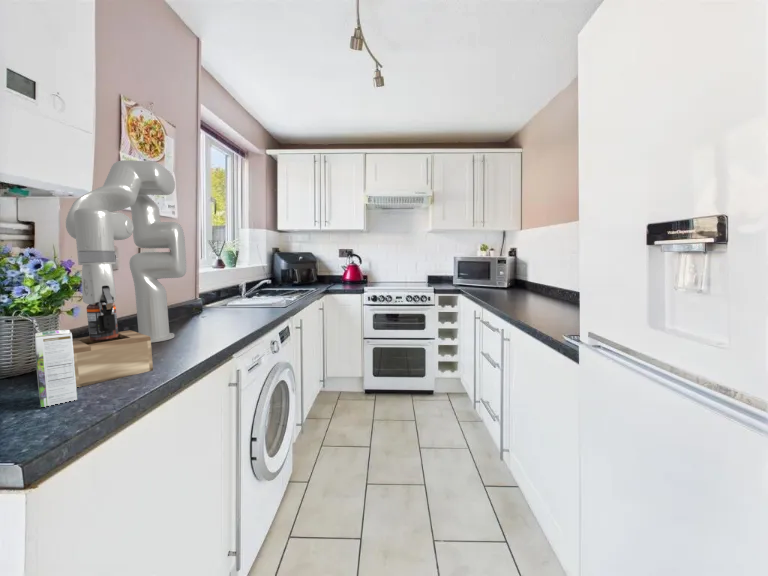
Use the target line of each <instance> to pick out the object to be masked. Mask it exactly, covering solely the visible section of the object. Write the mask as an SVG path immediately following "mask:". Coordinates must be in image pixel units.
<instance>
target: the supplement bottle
mask: <svg viewBox="0 0 768 576" xmlns="http://www.w3.org/2000/svg"><path fill="white" fill-rule="evenodd" d="M100 303H105V301H100ZM102 309H103V306H102ZM113 310H114V318H115V330H113V331H106V332H100V331H99V321H98V316H100V314H99V309H98V304H97V302H96V304H95V305H90V304H87V305H86V315H87V318H86V319H87V324H88V325H87V327H88V332H89V333H88V334H89V335H88V337H89V336H90V340H91V341H103V340H110V339H114V338H117V337H118V332H119V327H118V326H119V325H118V319H117V317H118V315H117V307H116V304H115V302H114V303H113Z"/></svg>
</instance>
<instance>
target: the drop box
mask: <svg viewBox="0 0 768 576" xmlns="http://www.w3.org/2000/svg"><path fill="white" fill-rule="evenodd" d="M72 341H73V352H74V365H75V377H76V389H78V388H77V387H79V388H82V386H83V387H87V386H91V385H96V384H101V383H104V382H107V381H112V380H117V379H121V378H126V377H131V376H134V375H139V374H144V373H147V372H151V371H154V363H153V355H152V354H153V352H152V343H151V337H150V336H147V335H144V334H141V333H139V332H137V331H135V330H130V329H129V330H123V331H118V337H117V338H114V339H110V340H103V341H91V340H90V336H89V335H88V336H84V337H77V338H76V337H75V338H72Z"/></svg>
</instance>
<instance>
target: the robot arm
mask: <svg viewBox="0 0 768 576" xmlns="http://www.w3.org/2000/svg"><path fill="white" fill-rule="evenodd" d="M175 188H176V182H175V178H174V176H173V174H172V173H171V172H170V171H169V170H168V168H166V167H165V166H163V165H162V164H160V163H159V162H156V161H150V160H148V161H147V160H132V159H131V160H129V159H128V160H127V159H125V160H119V161H115V162H114V163H113V164H112V165H111V167H110V169H109V172H108V174H107V175H106V178H105V180H104V182H103V185H102V186H100V187H98V188H94V189H93V190H91V191H89V192H87V193H85V194H82V195H81V196H79V197H78V198H76V200H75V201H74V202H73V203H72V205H71V207H70V209H69V211H68V212H67V215H66V219H65V228H66V231H67V234H68V235H69V236H70V237H71V238H73V239H75V241H76V253H77V263H78V266H81V286H82V287H81V288H82V289H81V291H82V302H83V303H84V304H87V305H89V304H90V305H95V304H96V302H97V304H98V309H99V314H100V316H98V321H99V331H100V332H106V331H113V330H115V318H114V310H113V303H114V304H115V302H116V300H117V298H116V297H117V295H116V294H117V293H116V284H115V275H114V269H113V265H116V264H117V259H116V249H115V241H123V240H124V241H125V240H126V239H129V238H130V237H131V236H133V242H134V244H135V246H136V247H138V248H140V249H169V250H170V251H161V252H160V251H152V252H151V251H148V252H147V251H144V252H139V253H138V252H137V253H135V254H134V255H132V256H131V257H130V259H129V264H128V265H129V269H130V270H129V271H130V273H131V276H132V279H133V285H134V286H133V287H134V294H135V305H136V306H135V307H136V308H135V309H136V316H137V317H136V319H137V329H138V332H137V333H141V334H144V335H147V336H150V337H151V344H152V343H158V342H163V341H164V342H165V341H168V340H171V339H173V338H175V333H174V332H170V326H169V325H170V324H169V322H170V321H169V310H168V296H167V290H166V288H165V287H164V285H163V284H162V283H161V282H160V281H159V280H160V279H180V278H182V277H184V276H185V275H186V272H187V256H186V254H187V253H186V241H185V240H186V239H185V232H184V229H183V226H182V225H181V224H179V223H178V222H175V221H161V214H160V213H161V212H160V207H159V206H158V204H157V203H156V202H155V200H153V199H152V198H151V197H150V196H149V195H151V196H154V195H155V196H170V195H172V194H173V193H174V191H175ZM127 208H130V210H131V218H130V217H129V216H128V215H126V213H123V212H119V211H121V210H126V209H127ZM100 301H105V303H100ZM102 306H103V309H102Z"/></svg>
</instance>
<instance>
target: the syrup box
mask: <svg viewBox="0 0 768 576" xmlns="http://www.w3.org/2000/svg"><path fill="white" fill-rule="evenodd" d="M72 339H73V334H72V331H71V330H70V329H58V330H57V329H56V330H54V329H53V330H47V331H46V330H45V331H42V332H41V331H40V332H35V333H34V345H35V349H34V350H35V362H36V365H35V366H36V375H37V386H38V396H39V405H40V408H41V407H45V408H47V407H46V406H49V407H52V406H51V405H54V406H56V405H55V404H58V405H61V404H60V403H63V404H66V403H65V402H67V403H69V401H71V402H75V401H78V391H77V389H78V388H76V377H75V365H74V352H73V341H72ZM74 400H75V401H74Z"/></svg>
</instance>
